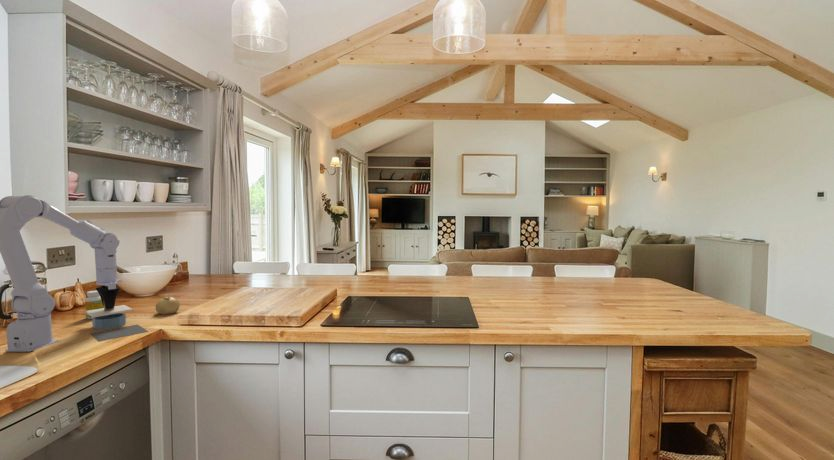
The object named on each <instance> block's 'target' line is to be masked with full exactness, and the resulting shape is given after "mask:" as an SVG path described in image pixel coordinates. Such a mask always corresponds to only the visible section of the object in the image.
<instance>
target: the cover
mask: <svg viewBox="0 0 834 460" xmlns="http://www.w3.org/2000/svg"><path fill="white" fill-rule="evenodd" d="M132 311H133V308H132V307H129V306H128V305H125V304H122V305H115V306H114V308H112V309H106V307H105V304H104V308H101V309H95V310H89V311H86V310H85V314H86V313H87V314H89V315H90V316H91V317H99V316H105V315H111V314H117V313H127V312H132ZM133 312H134V311H133Z"/></svg>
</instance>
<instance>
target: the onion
mask: <svg viewBox="0 0 834 460" xmlns="http://www.w3.org/2000/svg"><path fill="white" fill-rule="evenodd" d="M180 306H181V304H180V301H179V300H178V299H177V298H175V297H172V296H163V297H162V298H161V299H159V300H158V301H157V302H156V305H155V311H156V313H158V315H164V316H165V315H171V314H175V313H177V312H178V311H179V310H180Z"/></svg>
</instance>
